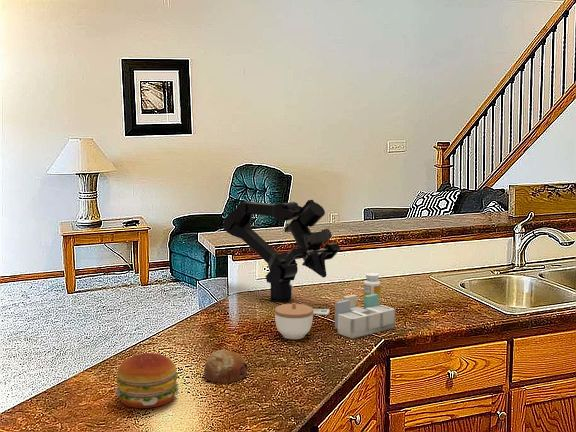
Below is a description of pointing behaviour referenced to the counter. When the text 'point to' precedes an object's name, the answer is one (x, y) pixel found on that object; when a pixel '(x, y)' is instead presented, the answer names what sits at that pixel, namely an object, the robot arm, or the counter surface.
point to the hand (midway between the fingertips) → (324, 276)
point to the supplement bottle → (372, 285)
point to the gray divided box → (366, 322)
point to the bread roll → (225, 367)
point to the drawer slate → (343, 310)
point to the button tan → (355, 304)
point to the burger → (146, 380)
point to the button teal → (373, 302)
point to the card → (321, 311)
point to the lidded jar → (293, 320)
